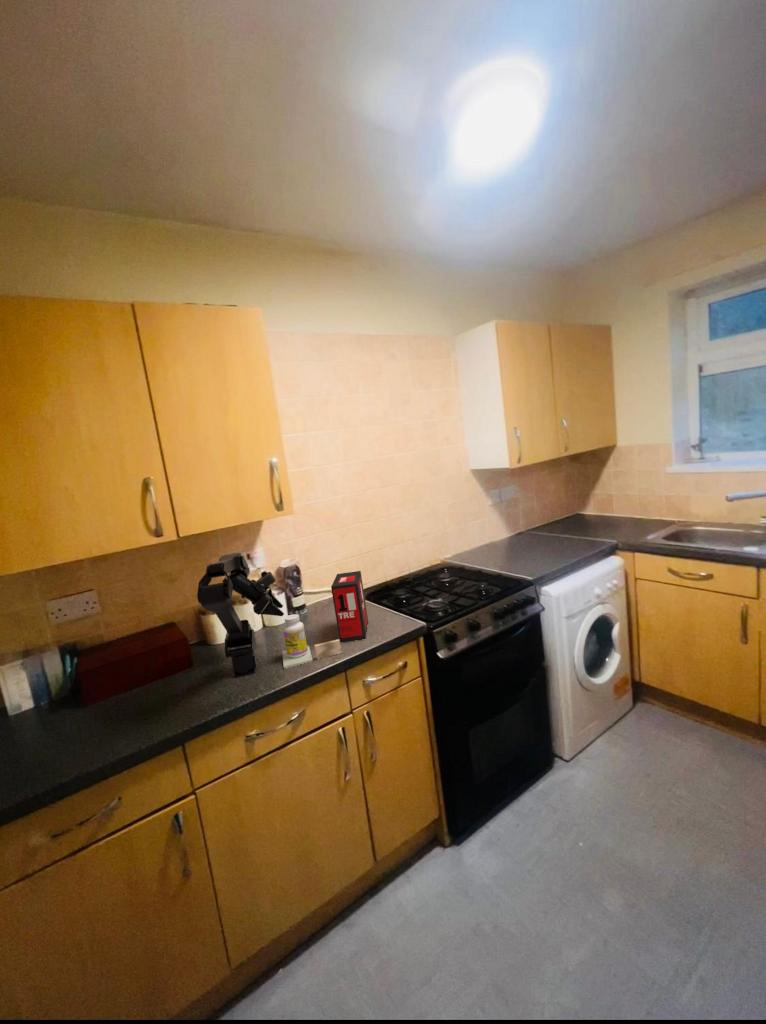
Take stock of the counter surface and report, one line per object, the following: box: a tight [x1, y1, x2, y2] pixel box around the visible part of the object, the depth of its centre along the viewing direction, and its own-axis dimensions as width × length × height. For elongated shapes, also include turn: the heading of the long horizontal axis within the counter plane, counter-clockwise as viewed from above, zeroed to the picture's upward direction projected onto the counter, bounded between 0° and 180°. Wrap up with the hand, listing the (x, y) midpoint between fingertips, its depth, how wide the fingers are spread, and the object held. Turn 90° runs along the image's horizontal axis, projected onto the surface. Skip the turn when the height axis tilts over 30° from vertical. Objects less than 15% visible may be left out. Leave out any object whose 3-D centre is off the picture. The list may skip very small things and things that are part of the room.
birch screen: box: [314, 638, 342, 660], centre depth 142 cm, size 8×1×4 cm, turn 105°
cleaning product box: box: [330, 570, 369, 643], centre depth 158 cm, size 16×9×20 cm, turn 179°
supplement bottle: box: [282, 613, 308, 658], centre depth 144 cm, size 7×7×13 cm
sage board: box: [281, 645, 314, 670], centre depth 144 cm, size 9×12×1 cm
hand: (282, 610), depth 151 cm, fingers open, 9 cm apart
